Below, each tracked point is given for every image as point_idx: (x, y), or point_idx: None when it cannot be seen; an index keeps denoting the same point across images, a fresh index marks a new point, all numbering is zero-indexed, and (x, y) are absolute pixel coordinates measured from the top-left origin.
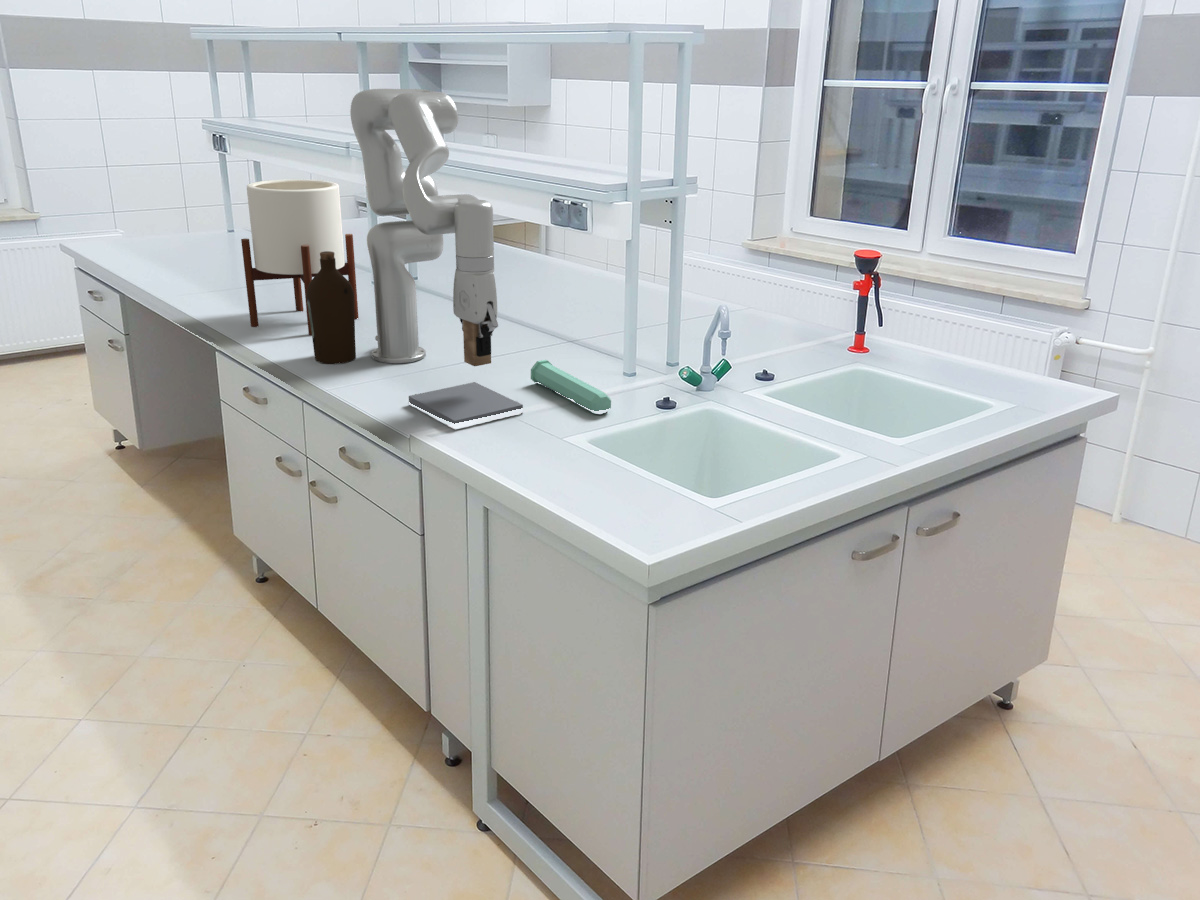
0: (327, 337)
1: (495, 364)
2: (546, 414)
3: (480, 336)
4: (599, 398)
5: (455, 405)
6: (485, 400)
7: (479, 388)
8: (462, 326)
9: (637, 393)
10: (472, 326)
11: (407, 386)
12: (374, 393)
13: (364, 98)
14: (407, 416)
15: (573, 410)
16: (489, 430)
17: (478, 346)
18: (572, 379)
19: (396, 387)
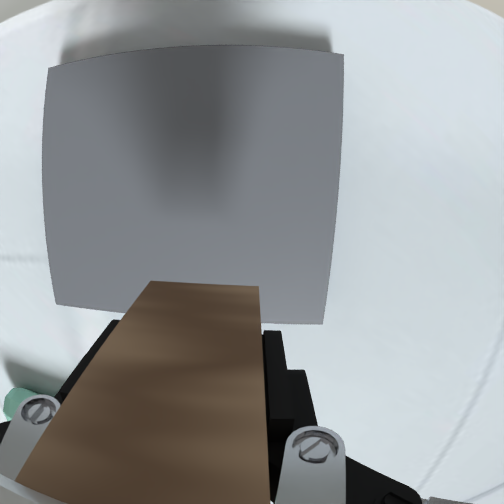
0: None
1: (423, 431)
2: (50, 332)
3: (40, 406)
4: (3, 408)
5: (146, 126)
6: (133, 242)
7: None
8: (338, 461)
9: None
10: (46, 457)
11: (473, 174)
12: (472, 70)
13: None
14: (244, 9)
15: (56, 384)
16: (21, 153)
17: (91, 356)
18: None
19: (482, 146)
